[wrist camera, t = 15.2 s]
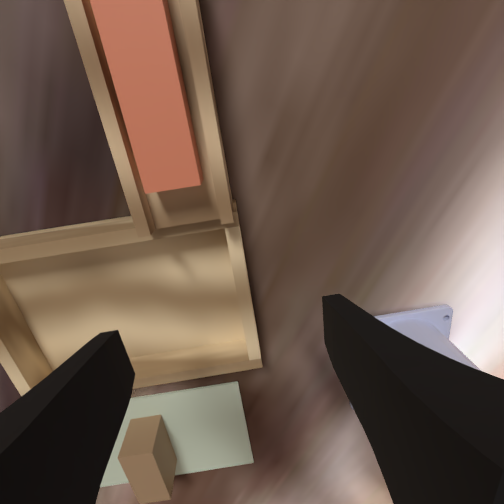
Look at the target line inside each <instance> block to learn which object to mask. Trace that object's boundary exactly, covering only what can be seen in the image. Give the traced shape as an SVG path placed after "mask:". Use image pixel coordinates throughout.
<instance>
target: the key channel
mask: <svg viewBox="0 0 504 504" xmlns="http://www.w3.org/2000/svg"><path fill="white" fill-rule="evenodd" d="M167 1H168V6H169V11H170V16H171V21H172V26H173V31H174V36H175V41H176V46H177V51H178V56H179V61H180V66H181V70H182V75H183V80H184V85H185V90H186V95H187V100H188V105H189V110H190V115H191V120H192V125H193V130H194V135H195V140H196V144H197V149H198V154H199V159H200V164H201V169H202V174H203V181H202V184H201V185H199V186H192V187H186V188H179V189H173V190H167V191H160V192H154V193H147V194H145V192H144V188H143V185H142V181H141V178H140V174H139V171H138V167H137V164H136V160H135V157H134V153H133V150H132V146H131V143H130V139H129V136H128V132H127V129H126V125H125V122H124V118H123V115H122V111H121V108H120V104H119V101H118V97H117V94H116V90H115V87H114V83H113V80H112V76H111V73H110V69H109V66H108V62H107V59H106V55H105V52H104V48H103V45H102V41H101V38H100V34H99V31H98V27H97V24H96V20H95V17H94V13H93V10H92V6H91V3H90V0H64V3H65V6H66V9H67V12H68V15H69V18H70V22H71V25H72V28H73V31H74V34H75V38H76V41H77V44H78V47H79V50H80V54H81V57H82V60H83V63H84V66H85V69H86V73H87V76H88V79H89V82H90V85H91V89H92V92H93V95H94V98H95V101H96V105H97V108H98V111H99V114H100V117H101V121H102V124H103V127H104V130H105V133H106V136H107V140H108V143H109V146H110V149H111V152H112V156H113V159H114V162H115V165H116V168H117V172H118V175H119V178H120V181H121V184H122V187H123V191H124V194H125V197H126V200H127V203H128V207H129V210H130V213H131V216H132V219H133V223H134V226H135V229H136V232H137V235H138V238H139V237H146V236H151V235H152V233H153V232H154V230H155V229H159V228H165V227H172V226H178V225H184V224H191V223H197V222H203V221H210V220H216V219H220V220H221V225H222V224H228V223H234V218H233V202H232V195H231V189H230V183H229V177H228V171H227V165H226V159H225V154H224V148H223V142H222V136H221V130H220V124H219V118H218V112H217V106H216V100H215V95H214V89H213V83H212V77H211V71H210V65H209V59H208V53H207V47H206V41H205V35H204V30H203V24H202V18H201V12H200V6H199V0H167Z"/></svg>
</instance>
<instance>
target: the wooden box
mask: <svg viewBox="0 0 504 504" xmlns="http://www.w3.org/2000/svg"><path fill="white" fill-rule="evenodd" d="M232 202H233V218H234V223H228V224H222V225H221V220H220V219H216V220H210V221H203V222H197V223H191V224H184V225H178V226H172V227H165V228H159V229H155V230H154V232H153V233H152V235H151V236H146V237H139V238H138V235H137V232H136V229H135V226H134V223H133V219H132V216H126V217H120V218H114V219H107V220H101V221H95V222H88V223H82V224H75V225H69V226H63V227H56V228H50V229H44V230H37V231H31V232H25V233H18V234H12V235H5V236H0V363H1V364H2V366H3V367H4V369H5V371H6V372H7V374H8V375H9V377H10V379H11V380H12V382H13V383H14V385H15V387H16V388H17V390H18V391H19V393H20V395H21V396H23V395H24V394H25V393H27V392H28V391H29V390H30V389H32V388H33V387H34V386H36V385H37V384H38V383H39V382H41V381H42V380H43V379H44V378H46V377H47V376H48V375H49V374H50V373H52V372H53V371H54V370H55V369H56V368H58V367H59V366H60V365H61V364H62V363H64V362H65V361H66V360H67V359H68V358H69V357H71V356H72V355H73V354H74V353H75V352H77V351H78V350H79V349H80V348H81V347H83V346H84V345H85V344H86V343H87V342H89V341H90V340H91V339H92V338H94V337H95V336H97V335H98V334H99V333H101V332H107V331H114V330H118V331H119V334H120V336H121V339H122V341H123V344H124V346H125V349H126V351H127V354H128V357H129V359H130V362H131V364H132V367H133V369H134V372H135V379H134V384H133V389H136V388H142V387H148V386H154V385H160V384H166V383H172V382H178V381H184V380H190V379H196V378H202V377H208V376H214V375H220V374H226V373H232V372H238V371H244V370H250V369H256V368H262V367H263V366H262V360H261V353H260V346H259V339H258V333H257V327H256V321H255V315H254V309H253V303H252V296H251V290H250V284H249V278H248V272H247V266H246V260H245V254H244V248H243V242H242V236H241V230H240V224H239V218H238V212H237V206H236V199H235V200H232Z"/></svg>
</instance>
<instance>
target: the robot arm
mask: <svg viewBox="0 0 504 504" xmlns="http://www.w3.org/2000/svg"><path fill="white" fill-rule="evenodd" d="M322 302H323V321H324V339H325V345H326V348H327V351H328V354H329V357H330V360H331V362H332V365H333V368H334V370H335V372H336V374H337V376H338V378H339V380H340V382H341V384H342V386H343V388H344V390H345V392H346V394H347V397H348V399H349V401H350V406H351V408H352V409H353V410H354V411H355V413H356V415H357V417H358V419H359V421H360V423H361V425H362V427H363V429H364V431H365V433H366V435H367V437H368V439H369V442H370V444H371V446H372V449H373V451H374V454H375V456H376V459H377V461H378V464H379V467H380V469H381V472H382V474H383V477H384V479H385V482H386V485H387V487H388V490H389V493H390V495H391V498H392V501H393V503H394V504H504V380H503V379H500V378H498V377H495V376H493V375H490V374H487V373H485V372H482V371H481V370H480V369H479V368H478V367H477V366H476V365H475V364H474V363H473V362H472V361H470V360H469V359H468V358H467V357H466V356H465V355H464V354H463V353H462V352H461V351H460V350H459V349H458V348H457V347H456V346H455V345H454V344H453V343H452V342H451V341H450V340H449V334H450V328H451V321H452V315H453V309H452V308H451V307H450V306H449V305H440V306H434V307H428V308H422V309H416V310H410V311H404V312H398V313H392V314H386V315H379V316H372V315H370V314H369V313H367V312H366V311H364V310H363V309H361V308H360V307H358V306H357V305H355V304H354V303H353V302H351V301H350V300H348V299H347V298H345V297H344V296H342V295H340V294H335V295H329V296H323V297H322ZM444 316H445V317H444ZM443 317H444V318H443ZM134 379H135V372H134V369H133V367H132V364H131V362H130V359H129V357H128V354H127V351H126V349H125V346H124V344H123V341H122V339H121V336H120V334H119V331H118V330H114V331H107V332H101V333H99V334H98V335H97V336H95V337H94V338H92V339H91V340H90V341H89V342H87V343H86V344H85V345H84V346H83V347H81V348H80V349H79V350H78V351H77V352H75V353H74V354H73V355H72V356H71V357H69V358H68V359H67V360H66V361H65V362H64V363H62V364H61V365H60V366H59V367H58V368H56V369H55V370H54V371H53V372H52V373H50V374H49V375H48V376H47V377H46V378H44V379H43V380H42V381H41V382H39V383H38V384H37V385H36V386H34V387H33V388H32V389H30V390H29V391H28V392H27V393H25V394H24V395H23V396H22V397H20V398H19V399H18V400H17V401H15V402H14V403H13V404H12V405H10V406H9V407H8V408H6V409H5V410H4V411H2V412H1V413H0V504H95V503H96V499H97V495H98V492H99V488H100V485H101V482H102V479H103V476H104V473H105V470H106V467H107V464H108V462H109V459H110V456H111V453H112V451H113V448H114V445H115V442H116V439H117V437H118V434H119V431H120V428H121V425H122V423H123V420H124V417H125V414H126V411H127V408H128V405H129V402H130V398H131V393H132V389H133V384H134Z"/></svg>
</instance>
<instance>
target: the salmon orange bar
mask: <svg viewBox="0 0 504 504" xmlns="http://www.w3.org/2000/svg"><path fill="white" fill-rule="evenodd" d="M90 3H91V6H92V10H93V13H94V17H95V20H96V24H97V27H98V31H99V34H100V38H101V41H102V45H103V48H104V52H105V55H106V59H107V62H108V66H109V69H110V73H111V76H112V80H113V83H114V87H115V90H116V94H117V97H118V101H119V104H120V108H121V111H122V115H123V118H124V122H125V125H126V129H127V132H128V136H129V139H130V143H131V146H132V150H133V153H134V157H135V160H136V164H137V167H138V171H139V174H140V178H141V181H142V185H143V188H144V192H145V194H147V193H154V192H160V191H167V190H173V189H179V188H186V187H192V186H199V185H201V184H202V181H203V174H202V169H201V164H200V159H199V154H198V149H197V144H196V140H195V135H194V130H193V125H192V120H191V115H190V110H189V105H188V100H187V95H186V90H185V85H184V80H183V75H182V70H181V66H180V61H179V56H178V51H177V46H176V41H175V36H174V31H173V26H172V21H171V16H170V11H169V6H168V1H167V0H90Z"/></svg>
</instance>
